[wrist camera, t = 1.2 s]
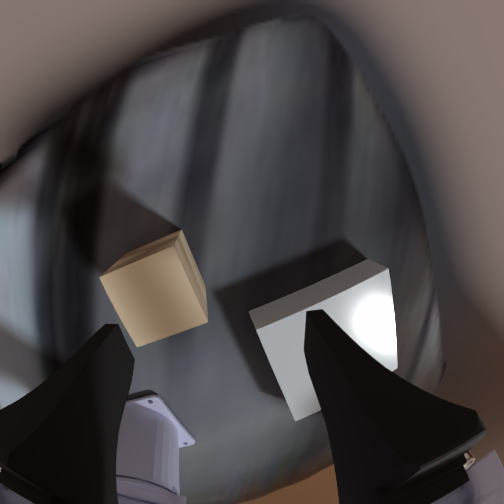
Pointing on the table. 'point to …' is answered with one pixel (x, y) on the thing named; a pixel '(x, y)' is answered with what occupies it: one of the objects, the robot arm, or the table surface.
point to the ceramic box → (342, 312)
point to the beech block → (157, 289)
